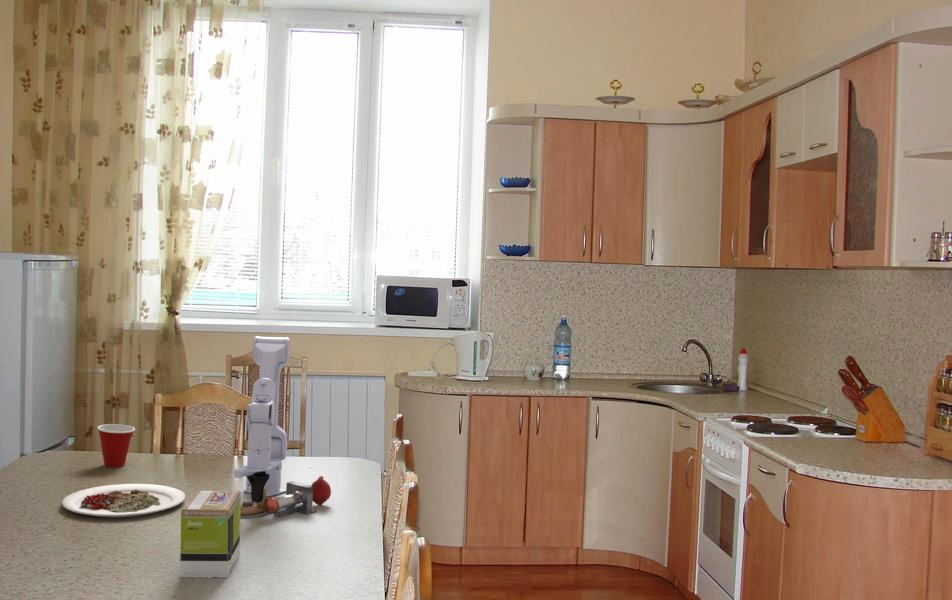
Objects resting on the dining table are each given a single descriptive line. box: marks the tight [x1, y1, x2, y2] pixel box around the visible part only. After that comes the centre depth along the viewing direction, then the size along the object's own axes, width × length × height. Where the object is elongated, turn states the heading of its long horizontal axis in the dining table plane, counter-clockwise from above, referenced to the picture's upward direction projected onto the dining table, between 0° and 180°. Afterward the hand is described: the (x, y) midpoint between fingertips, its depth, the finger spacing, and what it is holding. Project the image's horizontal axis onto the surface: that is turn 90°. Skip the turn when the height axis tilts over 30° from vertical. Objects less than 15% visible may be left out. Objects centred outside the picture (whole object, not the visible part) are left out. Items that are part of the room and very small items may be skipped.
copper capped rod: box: [263, 491, 303, 515], centre depth 236 cm, size 4×13×4 cm, turn 147°
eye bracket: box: [273, 481, 317, 518], centre depth 237 cm, size 9×10×7 cm
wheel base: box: [240, 512, 268, 519], centre depth 237 cm, size 12×12×1 cm
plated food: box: [61, 483, 186, 518], centre depth 238 cm, size 30×30×3 cm
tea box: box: [179, 490, 242, 579], centre depth 195 cm, size 15×10×15 cm, turn 5°
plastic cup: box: [96, 423, 136, 468], centre depth 279 cm, size 11×11×12 cm
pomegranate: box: [310, 475, 332, 506], centre depth 245 cm, size 6×6×8 cm
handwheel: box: [240, 487, 268, 515], centre depth 236 cm, size 10×10×6 cm
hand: (257, 501), depth 233 cm, fingers closed, pressing on handwheel
